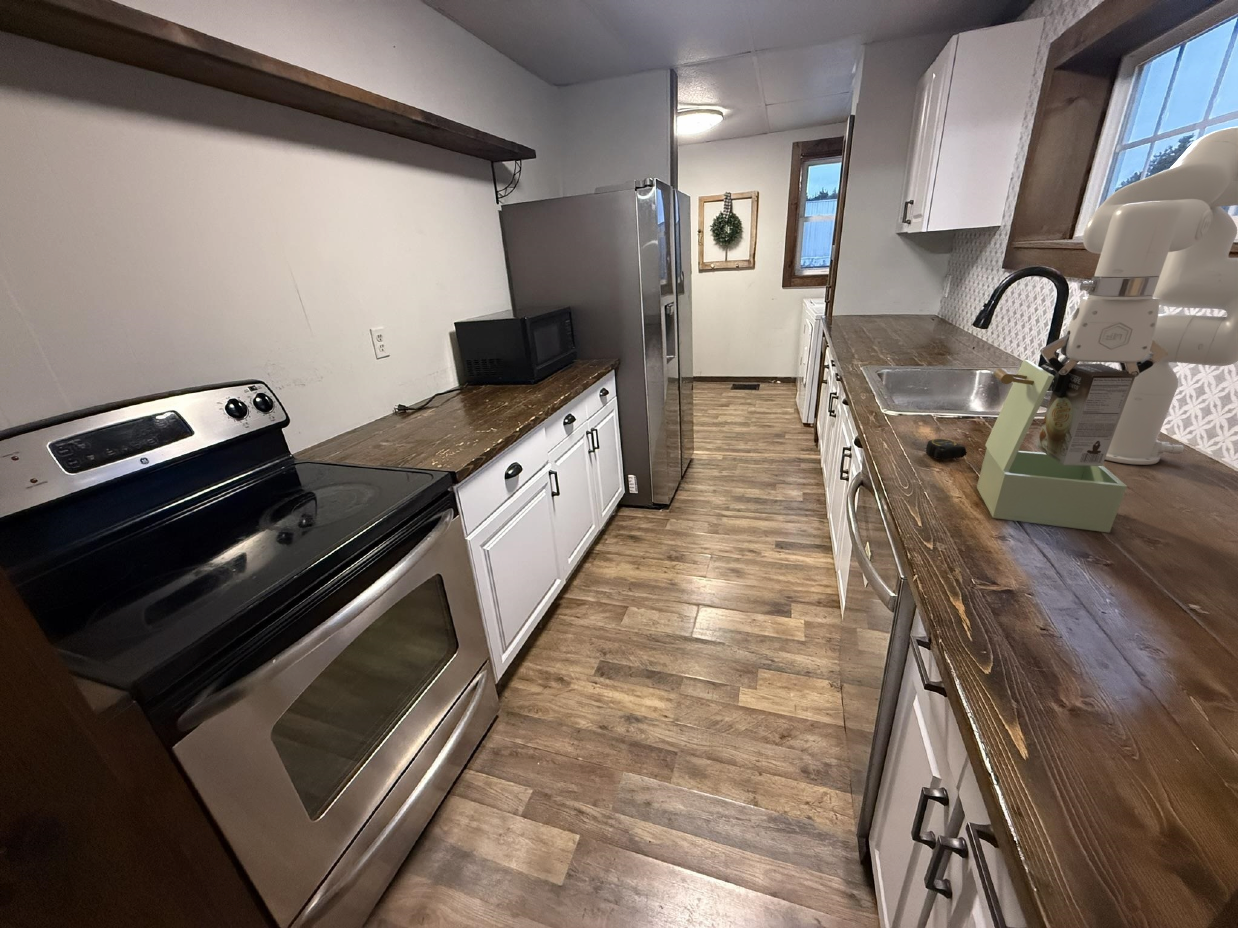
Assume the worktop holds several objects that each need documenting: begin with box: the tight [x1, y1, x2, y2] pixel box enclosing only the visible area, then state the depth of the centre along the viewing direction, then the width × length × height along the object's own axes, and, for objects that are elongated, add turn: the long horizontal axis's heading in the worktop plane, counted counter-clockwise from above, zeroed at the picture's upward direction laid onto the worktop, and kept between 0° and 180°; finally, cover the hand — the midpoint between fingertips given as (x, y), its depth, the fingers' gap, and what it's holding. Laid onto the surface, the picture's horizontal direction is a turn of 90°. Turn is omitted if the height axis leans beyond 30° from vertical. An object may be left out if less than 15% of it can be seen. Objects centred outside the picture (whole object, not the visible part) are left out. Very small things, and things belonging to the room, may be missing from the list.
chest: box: [976, 448, 1128, 534], centre depth 93 cm, size 17×14×9 cm
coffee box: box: [1035, 363, 1136, 466], centre depth 87 cm, size 9×6×16 cm
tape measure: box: [925, 438, 968, 461], centre depth 118 cm, size 7×7×4 cm
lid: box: [984, 359, 1055, 472], centre depth 91 cm, size 18×14×6 cm
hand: (1086, 396), depth 86 cm, fingers closed on coffee box, 7 cm apart
